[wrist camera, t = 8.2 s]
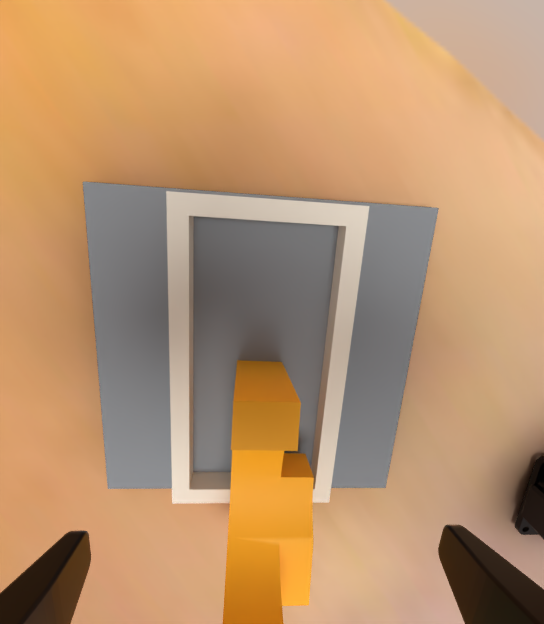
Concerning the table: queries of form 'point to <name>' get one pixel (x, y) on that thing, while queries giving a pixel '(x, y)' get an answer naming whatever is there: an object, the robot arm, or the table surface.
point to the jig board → (250, 328)
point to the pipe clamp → (267, 499)
